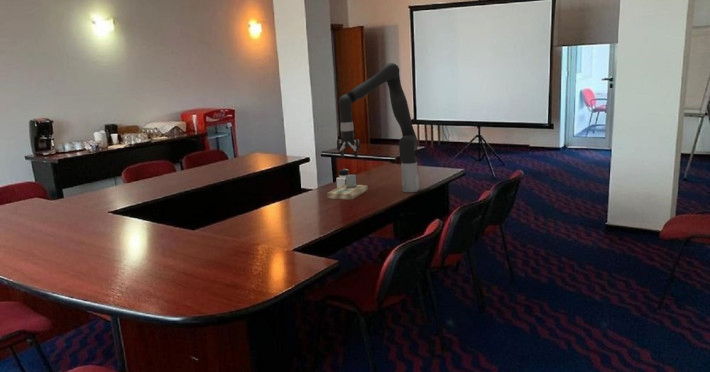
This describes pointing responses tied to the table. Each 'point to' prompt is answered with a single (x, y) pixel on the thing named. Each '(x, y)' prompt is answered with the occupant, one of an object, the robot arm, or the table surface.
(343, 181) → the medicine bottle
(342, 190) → the pocket board
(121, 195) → the table surface
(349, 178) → the metal block
